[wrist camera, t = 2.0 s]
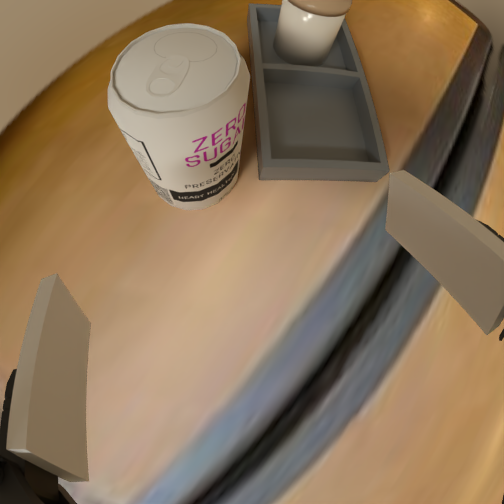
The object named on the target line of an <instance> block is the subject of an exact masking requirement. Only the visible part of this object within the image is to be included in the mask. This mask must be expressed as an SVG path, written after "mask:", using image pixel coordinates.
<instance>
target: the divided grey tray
mask: <svg viewBox="0 0 504 504" xmlns="http://www.w3.org/2000/svg"><path fill="white" fill-rule="evenodd" d="M280 10H281V5H268V4H249V8H248V16H247V25H248V37H249V49H250V62H251V75H252V88H253V101H254V115H255V129H256V143H257V157H258V172H259V180H335V181H366V182H377V181H378V180H379V179H381V178H382V177H383V176H384V175H386V174H387V173H388V172H389V166H388V161H387V156H386V152H385V147H384V143H383V139H382V134H381V130H380V126H379V122H378V118H377V115H376V111H375V107H374V104H373V100H372V97H371V93H370V90H369V86H368V83H367V80H366V77H365V74H364V70H363V67H362V64H361V61H360V58H359V56H358V53H357V50H356V47H355V44H354V42H353V39H352V36H351V33H350V31H349V28H348V26H347V23H346V21H345V18H344V20H343V22H342V24H341V27H340V29H339V31H338V33H337V36H336V38H335V40H334V43H333V45H332V47H331V50H330V52H329V54H328V56H327V59H326V61H325V62H324V63H323V64H321V65H319V66H316V67H314V66H303V65H292V64H290V63H288V62H286V61H284V60H283V59H281V58H280V57H279V56H278V55H277V54H276V52H275V50H274V47H273V43H274V38H275V33H276V28H277V24H278V19H279V15H280Z"/></svg>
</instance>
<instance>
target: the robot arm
mask: <svg viewBox="0 0 504 504" xmlns="http://www.w3.org/2000/svg"><path fill="white" fill-rule="evenodd" d="M385 230H386V231H387V232H388V233H389V234H390V235H392V236H393V237H394V238H395V239H396V240H397V241H398V242H399V243H400V244H401V245H402V246H403V247H404V248H405V249H406V250H407V251H408V252H409V253H410V254H411V255H412V256H413V257H415V258H416V259H417V260H418V261H419V262H420V263H421V264H422V265H423V266H424V267H425V268H426V269H427V270H428V271H429V272H430V273H431V275H432V276H433V277H434V278H435V279H436V280H437V281H438V282H439V283H440V284H441V285H442V286H443V287H444V288H445V289H446V290H447V291H448V292H449V293H450V294H451V295H452V297H453V298H454V299H455V300H456V301H457V302H458V303H459V304H460V305H461V306H462V307H463V309H464V310H465V311H466V312H467V313H468V314H469V315H470V316H471V318H472V319H473V320H474V321H475V322H476V323H477V324H478V326H479V327H480V328H481V329H482V330H483V331H484V333H485V334H486V335H488V334H489V333H491V332H492V331H493V330H494V329H496V328H497V327H498V326H499V325H500V324H501V322H502V320H503V318H504V238H503V237H502V236H501V235H498V233H497V232H496V231H494V230H493V229H492V228H491V227H489V226H488V225H486V224H484V223H482V222H480V221H478V220H476V219H474V218H473V217H472V216H470V215H469V214H468V213H466V212H465V211H464V210H462V209H461V208H459V207H458V206H457V205H455V204H454V203H453V202H451V201H450V200H448V199H447V198H446V197H444V196H443V195H441V194H440V193H438V192H437V191H435V190H434V189H432V188H431V187H429V186H428V185H426V184H425V183H423V182H422V181H420V180H419V179H417V178H416V177H414V176H413V175H411V174H409V173H408V172H406V171H405V170H401V171H397V172H393V173H390V176H389V193H388V206H387V218H386V228H385ZM90 327H91V323H90V321H89V320H88V318H87V317H86V316H85V314H84V313H83V311H82V310H81V309H80V307H79V306H78V304H77V303H76V301H75V300H74V298H73V297H72V295H71V294H70V292H69V291H68V289H67V288H66V286H65V285H64V283H63V282H62V280H61V279H60V277H59V275H58V274H57V273H56V274H54V275H51V276H48V277H45V278H43V279H41V282H40V285H39V288H38V291H37V294H36V297H35V300H34V304H33V307H32V310H31V314H30V317H29V321H28V324H27V328H26V332H25V336H24V340H23V344H22V348H21V352H20V357H19V361H18V366H17V369H15V370H13V372H12V374H11V376H10V378H9V380H8V382H7V386H6V391H5V400H4V404H3V410H4V411H2V418H1V426H0V504H77V503H76V502H75V501H74V500H73V498H72V497H71V496H70V495H69V493H68V492H67V491H66V490H65V489H64V488H63V487H62V486H61V485H60V484H58V477H60V478H62V479H64V480H67V481H69V482H83V481H89V475H88V461H87V441H86V386H87V364H88V350H89V338H90ZM503 338H504V329H503V331H502V332H501V334H500V337H499V340H500V341H502V339H503ZM502 504H504V495H503V500H502Z"/></svg>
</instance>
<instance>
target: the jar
mask: <svg viewBox="0 0 504 504" xmlns="http://www.w3.org/2000/svg"><path fill="white" fill-rule="evenodd" d="M351 4H352V0H283V1H282V5H281V10H280V15H279V19H278V24H277V28H276V33H275V38H274V43H273V47H274V50H275V52H276V54H277V55H278V56H279V57H280V58H281V59H283V60H284V61H286V62H288V63H290V64H292V65H303V66H314V67H316V66H319V65H321V64H323V63H324V62H325V61H326V59H327V56H328V54H329V52H330V50H331V47H332V45H333V43H334V40H335V38H336V36H337V33H338V31H339V29H340V27H341V24H342V22H343V20H344V17H345V15H346V13H347V12H348V11H349V8H350V6H351Z"/></svg>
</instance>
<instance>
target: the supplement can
mask: <svg viewBox="0 0 504 504" xmlns="http://www.w3.org/2000/svg"><path fill="white" fill-rule="evenodd" d="M249 83H250V74H249V71H248V68H247V65H246V62H245V59H244V58H243V57H242V56H241V54H240V53H239V52H238V49H237V47H236V44H235V43H234V42H233V41H232V40H231V39H230V38H229V37H227V36H226V35H225V34H224V33H222V32H220V31H218V30H216V29H213V28H211V27H209V26H204V25H198V24H190V23H185V24H175V25H167V26H164V27H161V28H158V29H155V30H152V31H149V32H147V33H145V34H143V35H142V36H140V37H138V38H137V39H135V40H134V41H132V42H131V43H130V44H129V45H128V46H127V47H126V48H125V49H124V50H123V51H122V52H121V53H120V54H119V55H118V57H117V59H116V61H115V63H114V65H113V67H112V70H111V80H110V83H109V87H108V108H109V110H110V112H111V114H112V115H113V117H114V119H115V121H116V123H117V124H118V126H119V128H120V130H121V132H122V133H123V135H124V137H125V139H126V140H127V142H128V144H129V146H130V147H131V149H132V151H133V153H134V154H135V156H136V158H137V160H138V161H139V163H140V165H141V167H142V168H143V170H144V172H145V173H146V175H147V177H148V178H149V180H150V182H151V184H152V185H153V187H154V189H155V190H156V192H157V194H158V195H159V197H160V198H162V199H163V200H164V201H166V202H167V203H168V204H170V205H171V206H173V207H177V208H180V209H184V210H200V209H205V208H207V207H210V206H212V205H215V204H217V203H219V202H220V201H221V200H222V199H223V198H224V197H226V196H227V195H228V194H229V193H230V192H231V190H232V188H233V186H234V184H235V183H236V181H237V178H238V170H239V163H240V154H241V146H242V138H243V130H244V122H245V114H246V106H247V98H248V91H249Z"/></svg>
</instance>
